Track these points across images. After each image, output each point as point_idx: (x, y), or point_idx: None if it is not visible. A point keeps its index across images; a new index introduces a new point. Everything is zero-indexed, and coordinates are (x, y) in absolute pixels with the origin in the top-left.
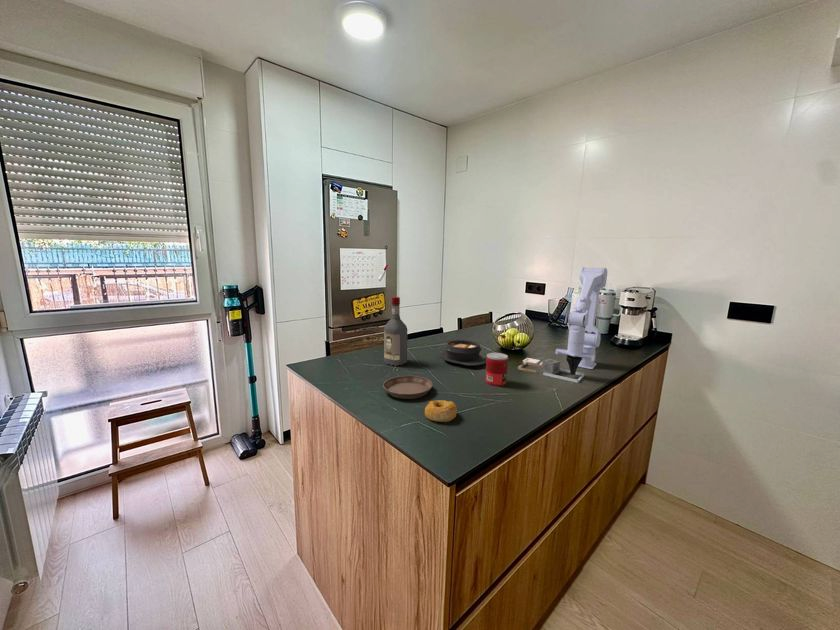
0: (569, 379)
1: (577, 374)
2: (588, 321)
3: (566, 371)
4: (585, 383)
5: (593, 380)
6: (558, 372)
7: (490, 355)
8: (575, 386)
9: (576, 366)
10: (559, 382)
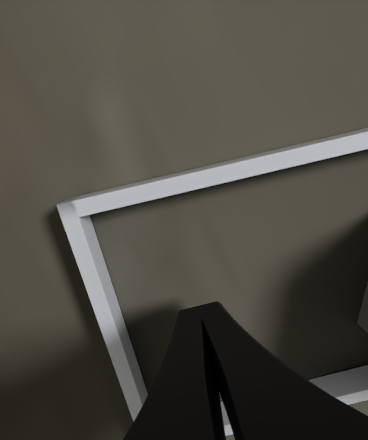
0: (167, 177)
1: None
2: None
3: None
4: (12, 251)
5: (23, 394)
6: (363, 315)
7: None
8: (12, 43)
9: (136, 420)
10: (220, 10)
